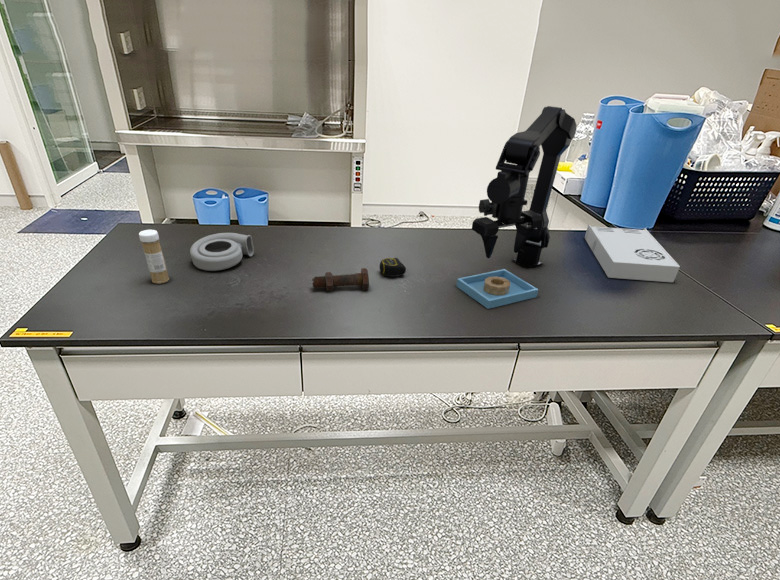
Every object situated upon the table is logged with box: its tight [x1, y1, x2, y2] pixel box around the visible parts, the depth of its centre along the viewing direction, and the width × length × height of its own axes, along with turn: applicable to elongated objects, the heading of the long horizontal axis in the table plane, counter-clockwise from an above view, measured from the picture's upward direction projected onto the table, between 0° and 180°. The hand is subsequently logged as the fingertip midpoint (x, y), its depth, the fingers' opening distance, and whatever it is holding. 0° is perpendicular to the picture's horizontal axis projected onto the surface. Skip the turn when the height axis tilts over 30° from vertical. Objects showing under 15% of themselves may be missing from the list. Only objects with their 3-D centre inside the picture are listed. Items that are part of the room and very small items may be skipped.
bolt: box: [311, 267, 370, 292], centre depth 134 cm, size 6×5×15 cm
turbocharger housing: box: [189, 232, 255, 272], centre depth 146 cm, size 17×6×15 cm
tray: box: [455, 268, 539, 310], centre depth 137 cm, size 17×15×2 cm
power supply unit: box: [584, 224, 681, 283], centre depth 158 cm, size 19×33×5 cm, turn 174°
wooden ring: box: [484, 276, 510, 295], centre depth 137 cm, size 7×7×2 cm
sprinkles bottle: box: [138, 229, 170, 285], centre depth 132 cm, size 5×5×14 cm
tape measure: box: [379, 257, 407, 277], centre depth 143 cm, size 7×7×4 cm
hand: (501, 255), depth 132 cm, fingers open, 9 cm apart
